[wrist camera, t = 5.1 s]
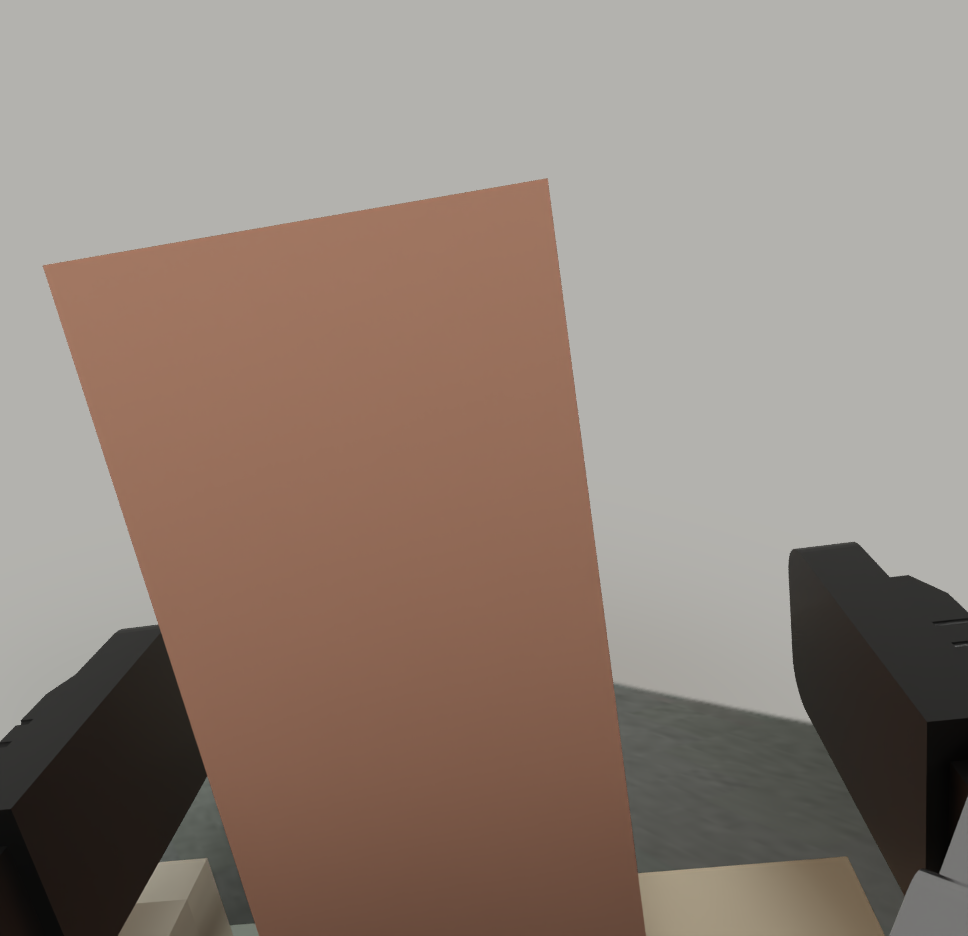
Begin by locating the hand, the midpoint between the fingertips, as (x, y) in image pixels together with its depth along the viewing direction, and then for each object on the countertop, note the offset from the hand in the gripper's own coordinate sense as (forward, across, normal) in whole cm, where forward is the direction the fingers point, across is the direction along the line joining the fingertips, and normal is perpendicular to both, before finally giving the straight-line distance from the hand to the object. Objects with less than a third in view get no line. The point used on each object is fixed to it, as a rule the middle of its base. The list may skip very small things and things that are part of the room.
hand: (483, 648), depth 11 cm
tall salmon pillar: (-2, 0, +8) cm, 9 cm away
